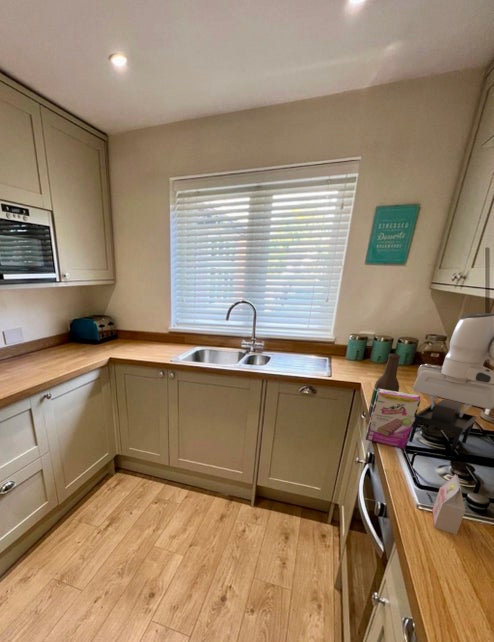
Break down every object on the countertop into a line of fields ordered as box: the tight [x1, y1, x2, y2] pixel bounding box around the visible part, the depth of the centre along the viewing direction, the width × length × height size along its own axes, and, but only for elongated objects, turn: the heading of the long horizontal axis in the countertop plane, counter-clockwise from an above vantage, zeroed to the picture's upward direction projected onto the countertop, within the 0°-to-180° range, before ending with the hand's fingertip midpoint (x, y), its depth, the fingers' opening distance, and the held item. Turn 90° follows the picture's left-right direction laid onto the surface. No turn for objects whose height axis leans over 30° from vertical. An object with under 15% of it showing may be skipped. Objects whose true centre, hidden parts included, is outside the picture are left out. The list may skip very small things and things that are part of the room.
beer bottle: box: [367, 352, 402, 419], centre depth 119 cm, size 8×8×24 cm
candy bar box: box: [365, 389, 422, 450], centre depth 101 cm, size 11×5×16 cm, turn 59°
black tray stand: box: [408, 404, 477, 456], centre depth 104 cm, size 12×15×9 cm
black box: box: [431, 398, 464, 424], centre depth 102 cm, size 5×8×5 cm, turn 129°
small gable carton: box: [432, 473, 467, 535], centre depth 68 cm, size 4×7×10 cm, turn 147°
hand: (446, 413), depth 102 cm, fingers closed on black box, 5 cm apart
